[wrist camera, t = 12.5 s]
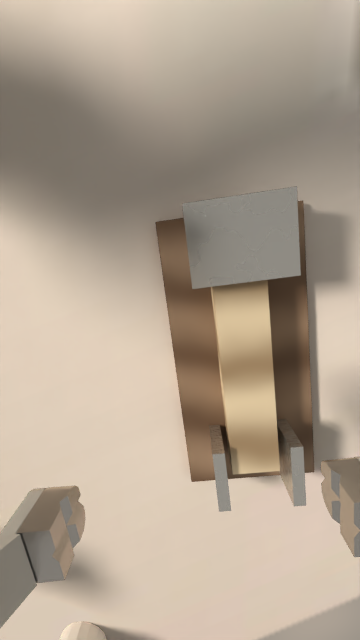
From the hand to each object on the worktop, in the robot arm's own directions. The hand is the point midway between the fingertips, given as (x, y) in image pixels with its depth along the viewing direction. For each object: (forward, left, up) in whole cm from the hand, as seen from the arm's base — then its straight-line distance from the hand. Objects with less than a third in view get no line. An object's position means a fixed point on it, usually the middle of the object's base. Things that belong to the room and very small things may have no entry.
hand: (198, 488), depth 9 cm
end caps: (+1, +4, -15) cm, 16 cm away
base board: (+1, +4, -17) cm, 17 cm away
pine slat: (+1, +4, -16) cm, 16 cm away
